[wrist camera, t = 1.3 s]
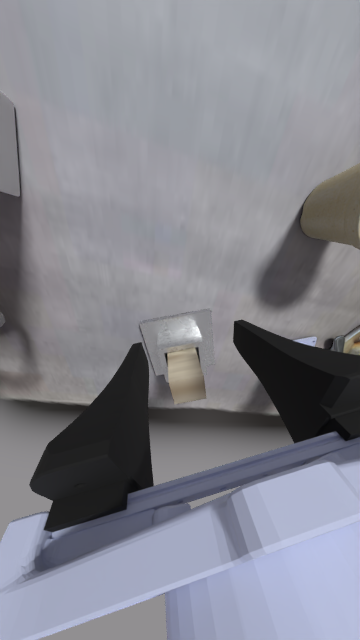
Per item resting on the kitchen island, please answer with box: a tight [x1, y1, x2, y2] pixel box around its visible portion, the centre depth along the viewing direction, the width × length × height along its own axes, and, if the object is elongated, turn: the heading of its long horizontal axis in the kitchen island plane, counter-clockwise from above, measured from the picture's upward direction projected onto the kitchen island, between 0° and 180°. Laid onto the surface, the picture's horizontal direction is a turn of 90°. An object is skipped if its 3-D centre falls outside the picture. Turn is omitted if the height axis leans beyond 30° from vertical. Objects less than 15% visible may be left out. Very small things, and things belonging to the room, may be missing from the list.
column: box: [167, 348, 206, 404], centre depth 22 cm, size 4×4×9 cm
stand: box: [139, 308, 215, 382], centre depth 25 cm, size 11×11×5 cm
